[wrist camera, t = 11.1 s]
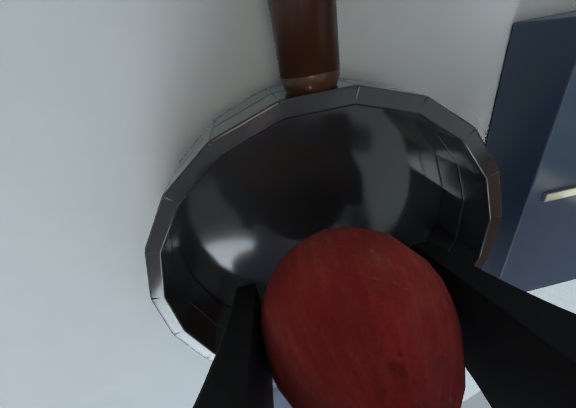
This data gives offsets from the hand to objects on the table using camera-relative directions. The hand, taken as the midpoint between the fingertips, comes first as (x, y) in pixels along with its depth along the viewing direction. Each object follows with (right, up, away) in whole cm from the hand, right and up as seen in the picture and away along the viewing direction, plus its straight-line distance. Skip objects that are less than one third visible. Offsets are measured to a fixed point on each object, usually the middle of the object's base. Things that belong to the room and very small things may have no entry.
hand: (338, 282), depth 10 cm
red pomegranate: (0, +1, +2) cm, 2 cm away
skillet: (-1, +2, +3) cm, 3 cm away
